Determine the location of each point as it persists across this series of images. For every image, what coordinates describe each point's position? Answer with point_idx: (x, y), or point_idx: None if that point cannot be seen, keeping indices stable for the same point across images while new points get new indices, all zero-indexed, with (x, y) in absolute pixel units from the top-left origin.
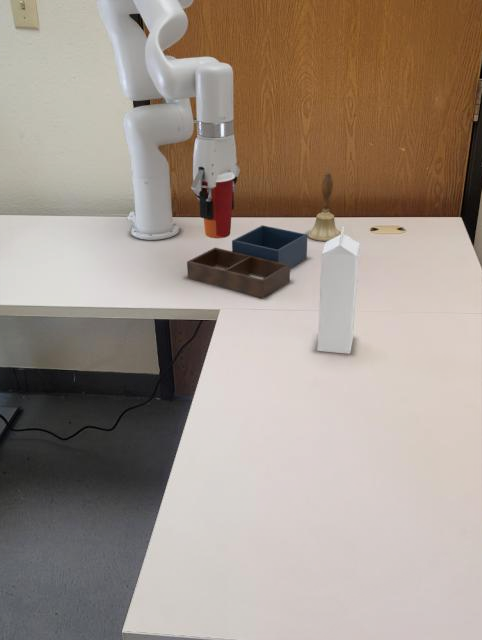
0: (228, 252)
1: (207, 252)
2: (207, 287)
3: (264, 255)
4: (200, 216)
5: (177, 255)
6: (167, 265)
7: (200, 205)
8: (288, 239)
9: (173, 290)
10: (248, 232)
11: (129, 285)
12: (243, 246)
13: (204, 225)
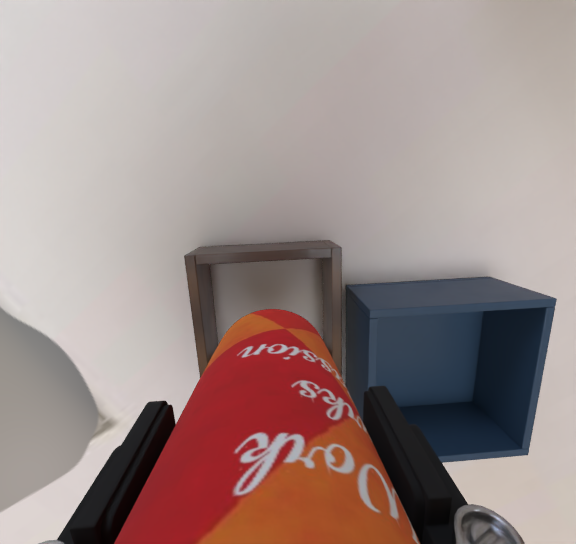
0: (331, 307)
1: (289, 257)
2: (189, 327)
3: (359, 410)
4: (148, 404)
5: (319, 87)
6: (234, 122)
7: (108, 473)
8: (508, 385)
9: (113, 270)
10: (467, 306)
11: (42, 135)
12: (364, 350)
13: (218, 348)
